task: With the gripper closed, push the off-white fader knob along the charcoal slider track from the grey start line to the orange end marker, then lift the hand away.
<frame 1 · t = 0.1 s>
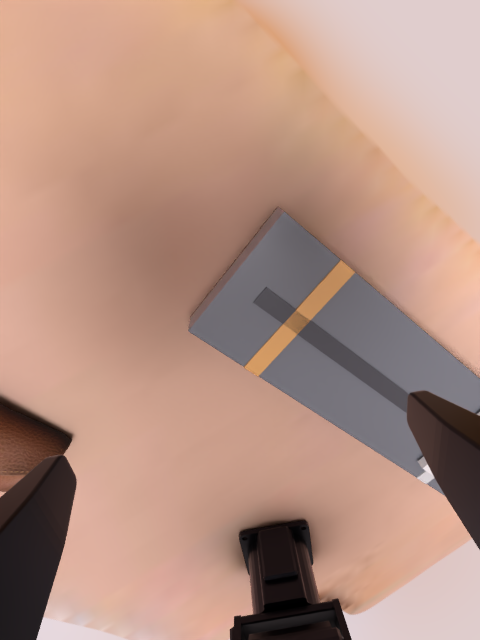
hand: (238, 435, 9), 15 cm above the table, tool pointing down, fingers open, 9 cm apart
fader track: (378, 374, 27), on the table
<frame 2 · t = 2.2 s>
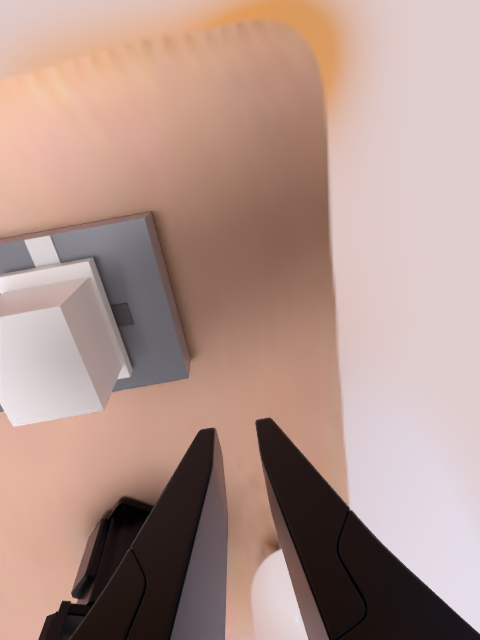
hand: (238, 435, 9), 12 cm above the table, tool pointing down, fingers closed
fader knob: (55, 345, 16), point 4 cm above the table, slide at 0.0 cm
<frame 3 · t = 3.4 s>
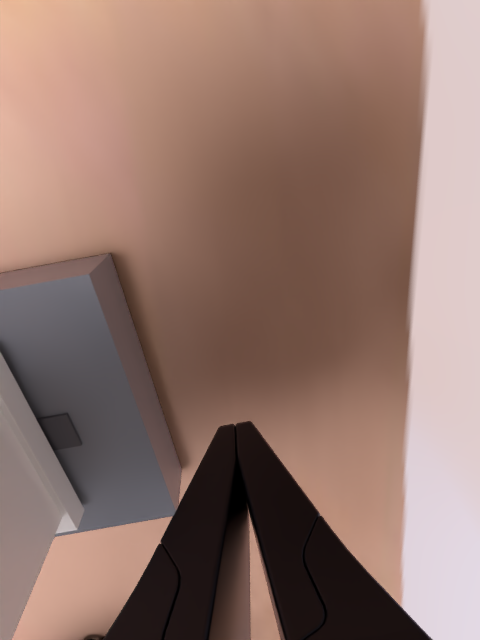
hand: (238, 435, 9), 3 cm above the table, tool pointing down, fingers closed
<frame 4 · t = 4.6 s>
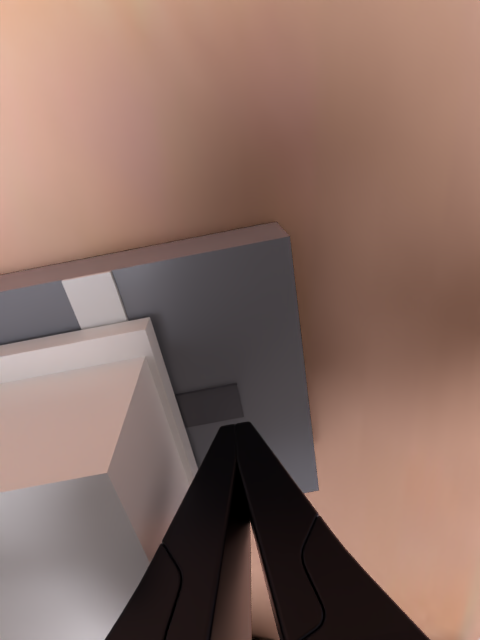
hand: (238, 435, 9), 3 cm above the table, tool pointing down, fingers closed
fader knob: (83, 489, 9), point 4 cm above the table, slide at 1.0 cm, touching gripper
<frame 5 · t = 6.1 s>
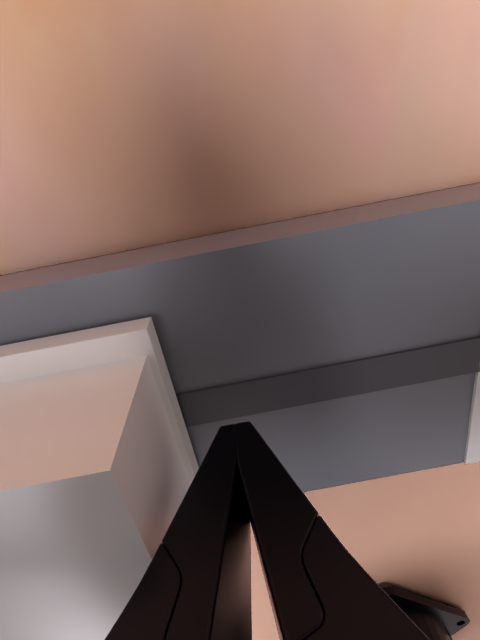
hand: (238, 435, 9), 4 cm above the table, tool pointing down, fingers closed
fader knob: (85, 488, 9), point 4 cm above the table, slide at 11.7 cm, touching gripper
fader track: (201, 369, 12), on the table
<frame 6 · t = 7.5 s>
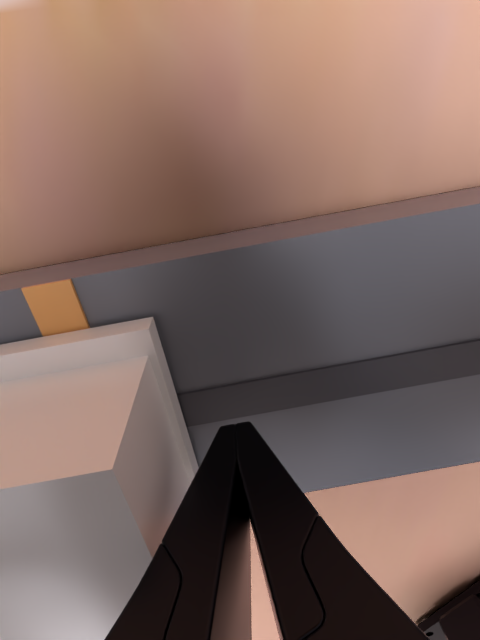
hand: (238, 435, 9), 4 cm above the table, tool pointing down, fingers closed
fader knob: (86, 487, 9), point 4 cm above the table, slide at 17.9 cm, touching gripper
fader track: (375, 338, 12), on the table
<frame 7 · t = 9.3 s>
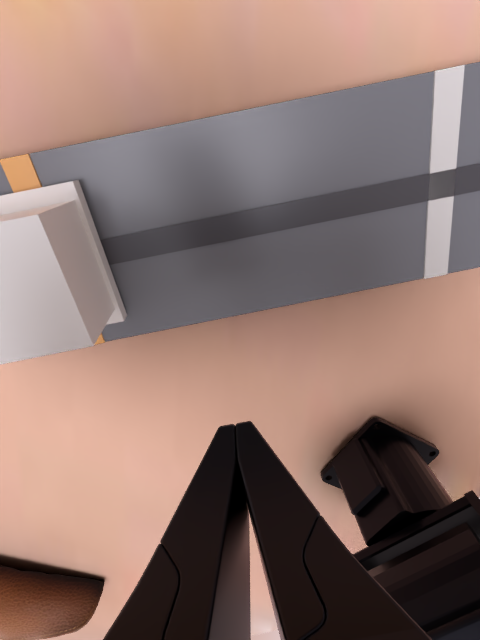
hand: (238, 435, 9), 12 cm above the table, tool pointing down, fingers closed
fader knob: (38, 277, 14), point 4 cm above the table, slide at 18.0 cm
fader track: (245, 215, 18), on the table
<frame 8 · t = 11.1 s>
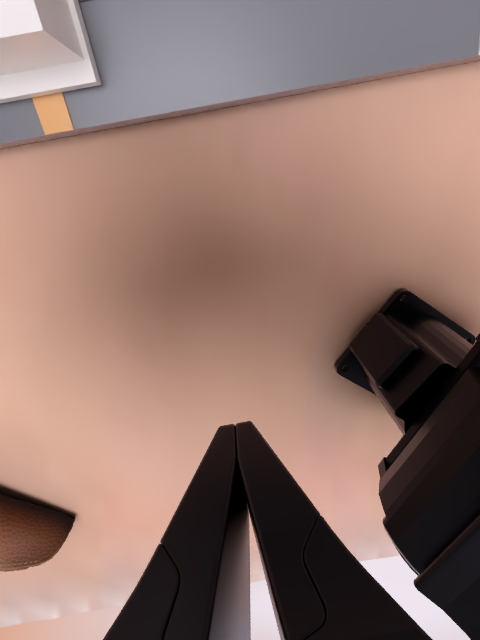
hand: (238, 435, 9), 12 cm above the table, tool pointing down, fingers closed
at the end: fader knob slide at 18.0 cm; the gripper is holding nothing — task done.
